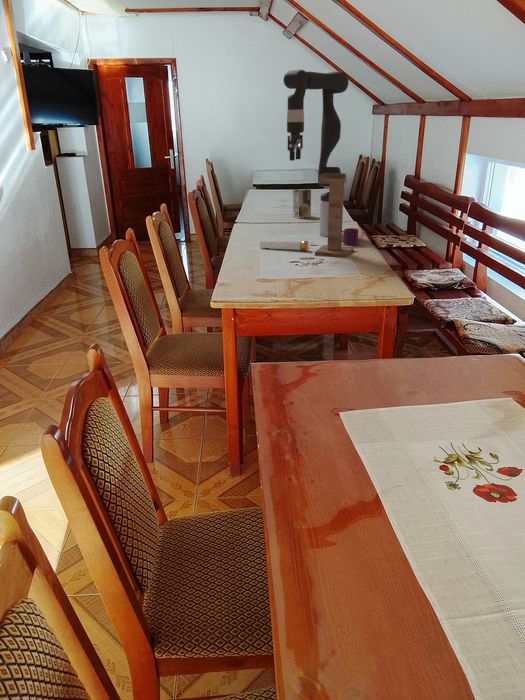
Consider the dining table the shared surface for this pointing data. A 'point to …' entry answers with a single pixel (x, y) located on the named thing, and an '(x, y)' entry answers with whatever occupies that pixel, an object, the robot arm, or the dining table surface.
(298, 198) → the coffee box
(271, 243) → the rod
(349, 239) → the mug
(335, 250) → the stand
